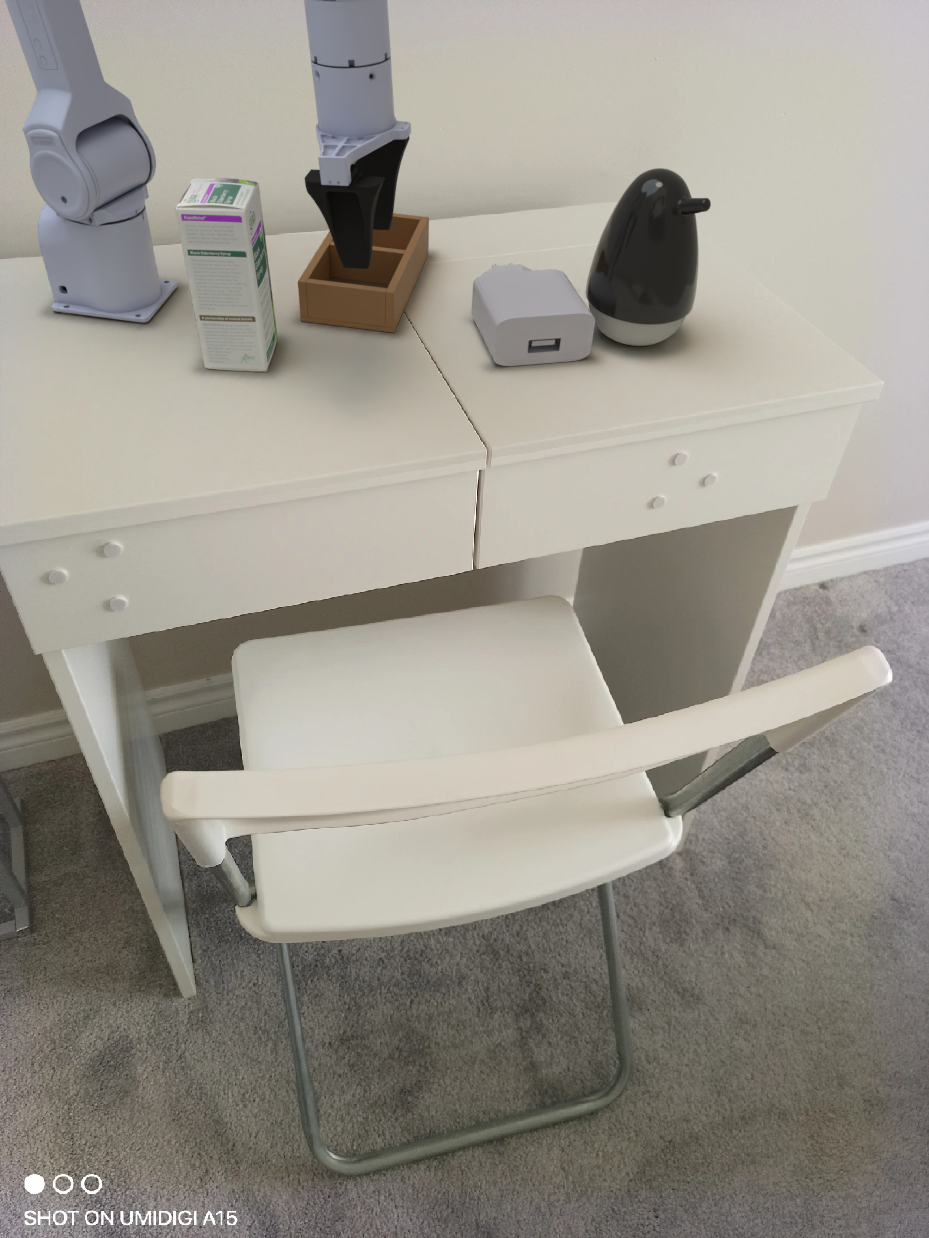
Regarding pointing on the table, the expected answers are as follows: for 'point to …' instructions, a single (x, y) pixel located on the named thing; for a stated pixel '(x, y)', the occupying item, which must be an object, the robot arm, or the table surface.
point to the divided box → (366, 279)
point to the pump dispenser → (647, 261)
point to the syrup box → (228, 272)
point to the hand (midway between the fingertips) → (367, 247)
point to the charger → (531, 316)
